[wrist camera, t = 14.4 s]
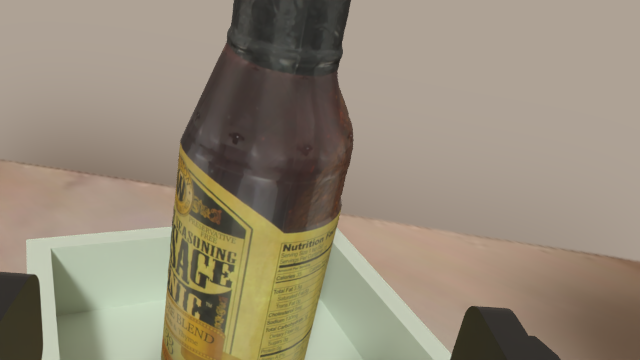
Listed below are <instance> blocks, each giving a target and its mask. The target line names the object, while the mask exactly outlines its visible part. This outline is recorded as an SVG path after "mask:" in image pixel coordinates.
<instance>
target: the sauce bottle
mask: <svg viewBox="0 0 640 360" xmlns="http://www.w3.org/2000/svg"><path fill="white" fill-rule="evenodd" d="M350 2H351V0H234V4H233V15H232V23H231V27H230V28H229V30H228V33H227V43H226V45H225V47H224V49H223V51H222V53H221V55H220V57H219V59H218V61H217V63H216V65H215V67H214V70H213V72H212V74H211V76H210V78H209V80H208V82H207V84H206V87H205V89H204V91H203V93H202V95H201V98H200V100H199V102H198V104H197V106H196V108H195V110H194V112H193V114H192V116H191V119H190V121H189V123H188V125H187V127H186V129H185V131H184V134H183V136H182V138H181V142H180V151H179V159H178V162H179V163H178V172H177V184H176V194H175V205H174V215H173V220H172V231H171V243H170V258H169V266H168V282H167V293H166V305H165V316H164V327H163V340H162V350H161V360H304V359H305V355H306V351H307V347H308V343H309V338H310V334H311V330H312V326H313V322H314V318H315V314H316V310H317V305H318V301H319V297H320V293H321V289H322V285H323V281H324V277H325V273H326V269H327V265H328V261H329V257H330V252H331V248H332V244H333V240H334V236H335V232H336V228H337V224H338V220H339V216H340V212H341V206H342V204H341V195H342V191H343V187H344V181H345V176H346V174H347V169H348V167H349V164H350V159H351V153H352V150H353V129H352V124H351V121H350V118H349V116H348V110H347V107H346V105H345V102H344V99H343V96H342V94H341V90H340V88H339V85H338V79H337V74H338V73H337V70H338V67H339V62H340V59H341V57H342V54H343V49H342V40H343V34H344V29H345V26H346V21H347V17H348V13H349V7H350Z"/></svg>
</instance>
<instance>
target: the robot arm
mask: <svg viewBox="0 0 640 360" xmlns="http://www.w3.org/2000/svg"><path fill="white" fill-rule="evenodd" d="M42 354H43V330H42V314H41V297H40V283H39V279H38V277H37V275H35V274H22V273H8V272H0V360H42ZM450 360H560V358H559V357H558V355H556V354H555V353H554V352H553V351H552V350H551V349H549V348H548V347H547V346H546V345H545V344H544V343H542V342H541V341H540V340H539V339H538V338H537V337H535V336H528V334H527V333H526V331H525V329H524V328H523V326H522V325H521V323H520V322H519V320H518V319H517V317H516V316H515V314H514V313H513V311H511V310H510V309H507V308H493V307H478V306H471V307H470V308H468V310H467V311H466V313H465V316H464V318H463V322H462V325H461V328H460V331H459V334H458V337H457V340H456V343H455V346H454V349H453V352H452V355H451V358H450Z"/></svg>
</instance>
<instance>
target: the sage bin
mask: <svg viewBox="0 0 640 360" xmlns="http://www.w3.org/2000/svg"><path fill="white" fill-rule="evenodd" d="M171 231H172V227H162V228H150V229H139V230H128V231H117V232H106V233H95V234H83V235H72V236H61V237H50V238H39V239H28V240H26V244H27V274H35V275H37V277H38V279H39V283H40V297H41V314H42V330H43V354H42V360H161V350H162V340H163V327H164V316H165V305H166V293H167V282H168V266H169V258H170V243H171ZM451 355H452V354H451V353H450V352H449V351H448V350H447V349H446V348H445V347H444V346H443V344H442V343H441V342H440V341H439V340H438V339H437V338H436V337H435V336H434V335H433V333H432V332H431V331H430V330H429V329H428V328H427V327H426V326H425V325H424V323H423V322H422V321H421V320H420V319H419V318H418V317H417V316H416V315H415V314H414V312H413V311H412V310H411V309H410V308H409V307H408V306H407V305H406V304H405V302H404V301H403V300H402V299H401V298H400V297H399V296H398V295H397V294H396V293H395V291H394V290H393V289H392V288H391V287H390V286H389V285H388V284H387V283H386V281H385V280H384V279H383V278H382V277H381V276H380V275H379V274H378V273H377V272H376V270H375V269H374V268H373V267H372V266H371V265H370V264H369V263H368V262H367V260H366V259H365V258H364V257H363V256H362V255H361V254H360V253H359V252H358V251H357V249H356V248H355V247H354V246H353V245H352V244H351V243H350V242H349V241H348V239H347V238H346V237H345V236H344V235H343V234H342V233H341V232H340V231H339V230H338V228H336V232H335V236H334V240H333V244H332V248H331V252H330V257H329V261H328V265H327V269H326V273H325V277H324V281H323V285H322V289H321V293H320V297H319V301H318V305H317V310H316V314H315V318H314V322H313V326H312V330H311V334H310V338H309V343H308V347H307V351H306V355H305V359H304V360H450V358H451Z"/></svg>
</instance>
